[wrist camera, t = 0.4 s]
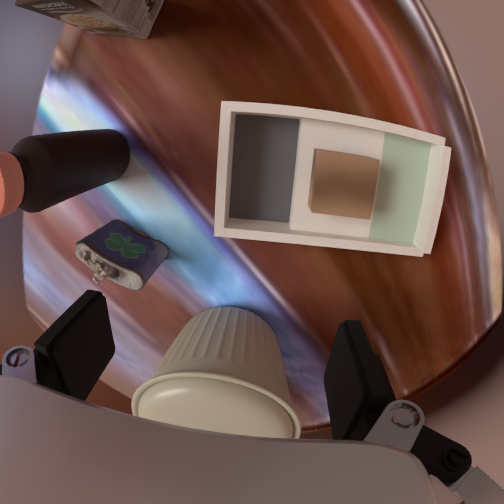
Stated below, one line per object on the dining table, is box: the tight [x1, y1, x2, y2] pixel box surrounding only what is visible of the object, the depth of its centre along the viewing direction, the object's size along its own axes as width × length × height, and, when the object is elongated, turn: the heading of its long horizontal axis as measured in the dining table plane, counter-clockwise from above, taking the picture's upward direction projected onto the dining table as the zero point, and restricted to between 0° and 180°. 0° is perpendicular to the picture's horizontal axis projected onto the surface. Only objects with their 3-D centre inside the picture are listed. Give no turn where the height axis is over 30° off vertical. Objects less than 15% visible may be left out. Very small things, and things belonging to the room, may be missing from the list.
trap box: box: [214, 101, 451, 257], centre depth 30 cm, size 14×24×6 cm, turn 86°
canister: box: [132, 306, 301, 439], centre depth 33 cm, size 18×18×21 cm
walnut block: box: [308, 148, 380, 220], centre depth 29 cm, size 6×6×4 cm
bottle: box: [0, 129, 130, 218], centre depth 24 cm, size 7×7×20 cm
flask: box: [75, 219, 168, 290], centre depth 33 cm, size 9×3×11 cm, turn 63°
